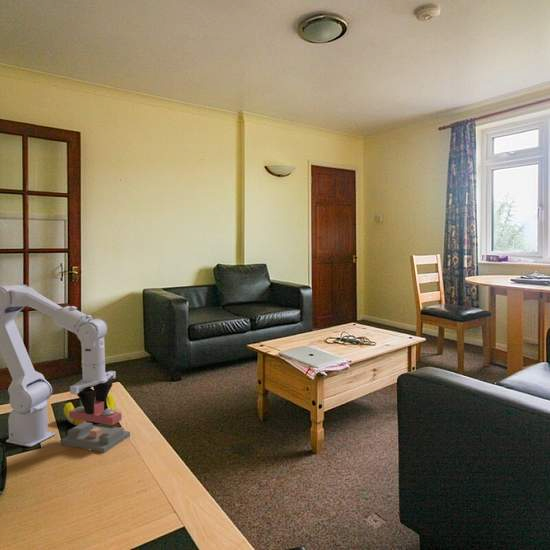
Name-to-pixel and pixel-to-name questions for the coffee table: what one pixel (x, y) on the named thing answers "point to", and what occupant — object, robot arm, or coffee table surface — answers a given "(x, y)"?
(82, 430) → the display stand
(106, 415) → the frame bar
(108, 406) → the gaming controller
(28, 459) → the coffee table surface
